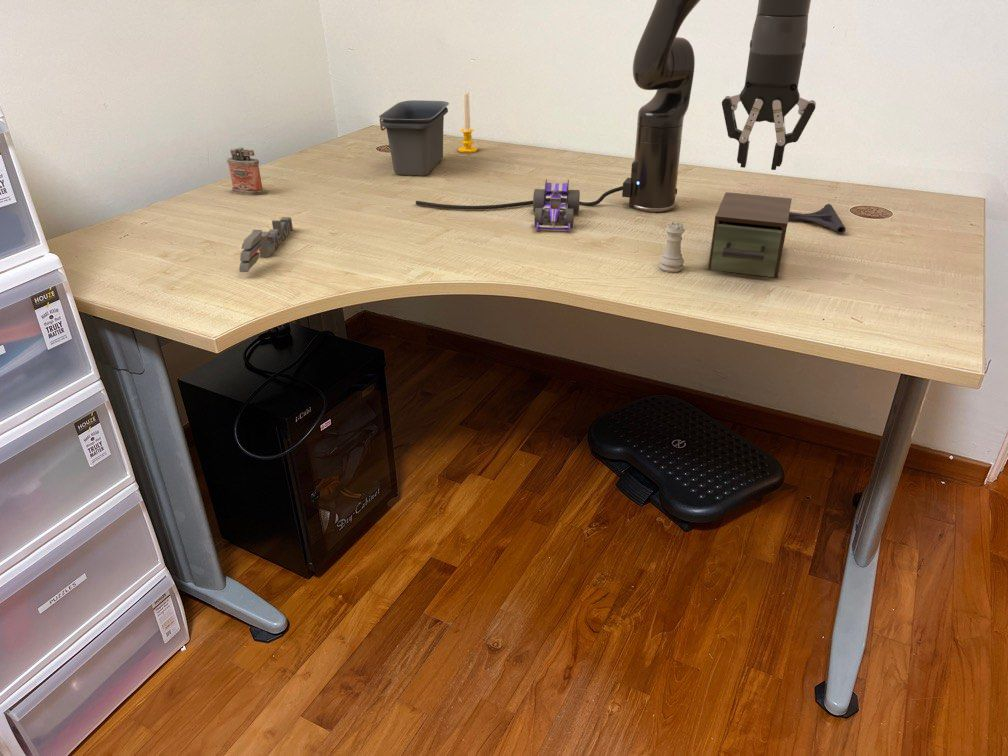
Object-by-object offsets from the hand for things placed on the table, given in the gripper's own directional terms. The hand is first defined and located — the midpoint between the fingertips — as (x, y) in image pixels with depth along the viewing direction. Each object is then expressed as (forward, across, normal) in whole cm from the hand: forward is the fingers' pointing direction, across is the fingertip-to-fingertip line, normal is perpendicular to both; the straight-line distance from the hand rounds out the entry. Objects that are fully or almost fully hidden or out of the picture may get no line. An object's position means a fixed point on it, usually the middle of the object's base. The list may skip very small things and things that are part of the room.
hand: (758, 167), depth 119 cm
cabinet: (+19, 0, -11) cm, 22 cm away
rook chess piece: (+19, +12, -2) cm, 23 cm away
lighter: (+19, +112, -16) cm, 115 cm away
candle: (+19, +79, -68) cm, 106 cm away
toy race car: (+19, +39, -20) cm, 48 cm away
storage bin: (+19, +85, -48) cm, 99 cm away
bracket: (+19, -8, -36) cm, 42 cm away
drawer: (+18, 0, -6) cm, 19 cm away
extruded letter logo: (+19, +84, +15) cm, 88 cm away
